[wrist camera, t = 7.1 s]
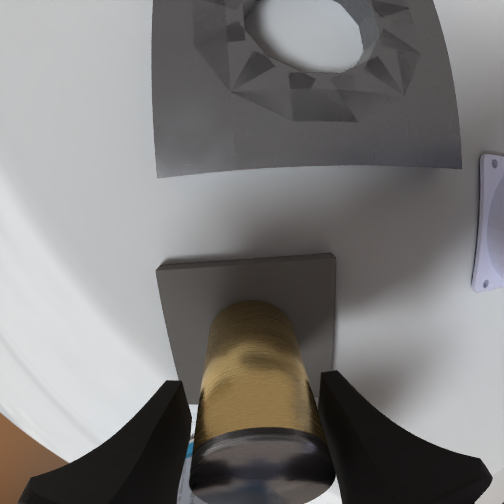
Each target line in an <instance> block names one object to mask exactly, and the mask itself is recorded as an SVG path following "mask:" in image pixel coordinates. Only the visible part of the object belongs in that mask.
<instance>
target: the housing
mask: <svg viewBox="0 0 504 504" xmlns="http://www.w3.org/2000/svg"><path fill="white" fill-rule="evenodd" d="M256 1H257V0H153V13H152V105H153V126H154V143H155V156H156V169H157V178H165V177H173V176H182V175H190V174H200V173H209V172H220V171H232V170H244V169H258V168H275V167H296V166H329V165H382V166H415V167H434V168H450V169H462V161H461V142H460V129H459V119H458V110H457V102H456V95H455V89H454V83H453V77H452V72H451V67H450V62H449V57H448V53H447V48H446V44H445V40H444V36H443V32H442V29H441V25H440V22H439V18H438V15H437V12H436V9H435V6H434V3H433V0H334V1H336V2H338V3H340V4H341V5H342V6H343V7H344V8H345V9H346V11H347V12H348V13H349V14H350V15H351V16H352V18H353V19H354V20H355V21H356V22H357V24H358V25H359V28H360V33H361V38H362V43H363V49H364V51H363V54H362V56H361V58H360V60H359V62H358V64H357V66H355V67H353V68H351V69H349V70H347V71H345V72H343V73H341V74H335V73H305V72H301V71H299V70H297V69H295V68H293V67H290V66H288V65H286V64H284V63H282V62H280V61H277V60H275V59H273V58H271V57H268V56H267V55H266V54H265V53H264V52H263V50H262V49H261V48H260V47H259V46H258V44H257V43H256V42H255V41H254V40H253V38H252V37H251V36H250V35H249V34H248V33H247V31H246V30H245V27H244V19H245V18H246V16H247V15H248V13H249V12H250V10H251V9H252V7H253V6H254V4H255V3H256Z"/></svg>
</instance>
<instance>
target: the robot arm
mask: <svg viewBox="0 0 504 504" xmlns="http://www.w3.org/2000/svg"><path fill="white" fill-rule="evenodd" d="M492 161H493V166H492ZM484 281H485V282H484ZM483 283H484V284H483ZM501 287H504V157H503V156H498V155H492V154H483V155H482V156H481V158H480V214H479V229H478V241H477V250H476V259H475V266H474V273H473V280H472V289H473V290H474V291H475V292H483V291H488V290H492V289H497V288H501ZM318 413H319V416H320V420H321V423H322V427H323V430H324V433H325V437H326V440H327V444H328V447H329V451H330V454H331V458H332V461H333V465H334V469H335V472H336V476H337V480H338V484H339V488H340V494H341V499H342V504H474V502H475V501H476V500H477V499H478V498H479V497H480V496H481V495H482V494H483V493H484V492H485V491H486V489H487V488H488V487H489V486H490V484H491V482H492V479H493V478H492V476H491V474H490V472H489V471H488V469H487V467H486V466H485V464H484V463H483V462H482V460H481V459H480V458H476V457H471V456H467V455H463V454H459V453H456V452H453V451H450V450H447V449H444V448H441V447H439V446H436V445H434V444H432V443H429V442H427V441H425V440H423V439H421V438H419V437H417V436H415V435H413V434H412V433H410V432H408V431H406V430H405V429H403V428H402V427H400V426H398V425H397V424H396V423H394V422H393V421H391V420H390V419H389V418H387V417H386V416H385V415H383V414H382V413H381V412H380V411H378V410H377V409H376V408H375V407H374V406H373V405H371V404H370V403H369V402H368V401H367V400H366V399H365V398H364V397H363V396H362V395H361V394H360V393H359V392H358V391H357V390H356V389H355V388H354V387H353V386H352V385H351V384H350V383H349V382H348V381H347V380H346V379H345V378H344V377H343V376H342V375H341V374H340V373H339V372H338V371H337V370H335V371H328V372H321V377H320V391H319V404H318ZM191 422H192V416H191V412H190V409H189V405H188V402H187V398H186V394H185V391H184V387H183V383H182V381H169V380H167V381H166V382H165V383H164V384H163V385H162V386H161V387H160V388H159V389H158V391H157V392H156V393H155V394H154V395H153V396H152V397H151V399H150V400H149V401H148V402H147V403H146V404H145V405H144V406H143V407H142V409H141V410H140V411H139V412H138V413H137V414H136V415H135V416H134V417H133V418H132V419H131V420H130V421H129V422H128V423H127V424H126V425H125V426H124V427H122V428H121V429H120V430H119V431H118V432H117V433H116V434H115V435H113V436H112V437H111V438H110V439H108V440H107V441H106V442H104V443H103V444H102V445H100V446H99V447H97V448H96V449H94V450H92V451H91V452H89V453H88V454H86V455H84V456H83V457H81V458H79V459H77V460H75V461H73V462H71V463H69V464H67V465H65V466H63V467H61V468H58V469H56V470H53V471H50V472H47V473H44V474H41V475H38V476H35V477H31V478H30V480H29V482H28V484H27V486H26V488H25V489H24V491H23V493H22V495H21V497H20V499H19V501H18V504H177V496H178V489H179V483H180V479H181V475H182V471H183V467H184V462H185V458H186V454H187V450H188V445H189V441H190V433H191ZM502 504H504V502H503V503H502Z"/></svg>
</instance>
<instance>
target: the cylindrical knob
mask: <svg viewBox="0 0 504 504" xmlns="http://www.w3.org/2000/svg"><path fill="white" fill-rule="evenodd" d="M335 477H336V472H335V469H334V465H333V461H332V458H331V454H330V451H329V447H328V444H327V440H326V437H325V433H324V430H323V427H322V423H321V420H320V416H319V413H318V409H317V406H316V403H315V399H314V396H313V392H312V389H311V386H310V382H309V379H308V376H307V372H306V369H305V366H304V362H303V359H302V356H301V352H300V349H299V346H298V342H297V339H296V336H295V333H294V329H293V326H292V323H291V321H290V319H289V318H288V316H287V315H286V314H285V313H284V312H283V311H282V310H281V309H279V308H278V307H276V306H274V305H272V304H270V303H267V302H263V301H255V300H250V301H242V302H238V303H235V304H232V305H230V306H228V307H227V308H225V309H224V310H222V311H221V312H220V313H219V314H218V315H217V316H216V317H215V319H214V320H213V322H212V324H211V327H210V331H209V337H208V344H207V350H206V357H205V363H204V370H203V377H202V384H201V391H200V398H199V405H198V413H197V420H196V428H195V435H194V443H193V451H192V459H191V468H190V476H189V487H190V489H191V491H192V492H193V494H194V495H195V496H197V497H198V498H199V499H201V500H202V501H204V502H206V503H208V504H304V503H307V502H309V501H311V500H313V499H315V498H317V497H318V496H320V495H321V494H323V493H324V492H325V491H326V490H328V489H329V488H330V486H331V485H332V484H333V482H334V480H335Z"/></svg>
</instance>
